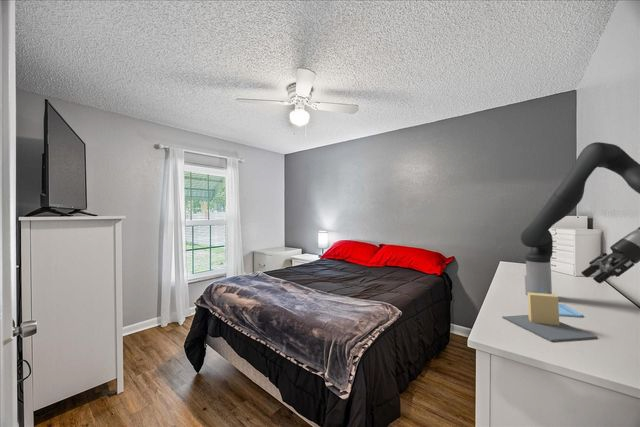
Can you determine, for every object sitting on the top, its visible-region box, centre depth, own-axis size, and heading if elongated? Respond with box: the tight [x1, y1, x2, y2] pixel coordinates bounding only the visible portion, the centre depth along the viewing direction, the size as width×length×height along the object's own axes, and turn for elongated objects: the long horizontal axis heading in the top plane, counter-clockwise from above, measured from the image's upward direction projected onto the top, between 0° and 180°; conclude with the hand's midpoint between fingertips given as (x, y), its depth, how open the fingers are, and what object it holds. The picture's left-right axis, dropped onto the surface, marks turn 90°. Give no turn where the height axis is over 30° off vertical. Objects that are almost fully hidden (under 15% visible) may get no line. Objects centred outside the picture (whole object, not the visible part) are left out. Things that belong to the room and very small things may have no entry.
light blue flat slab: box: [558, 303, 584, 318], centre depth 110 cm, size 14×12×1 cm
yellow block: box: [527, 292, 560, 325], centre depth 97 cm, size 8×4×10 cm, turn 65°
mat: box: [501, 314, 598, 342], centre depth 94 cm, size 20×16×1 cm
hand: (589, 278), depth 92 cm, fingers open, 8 cm apart
